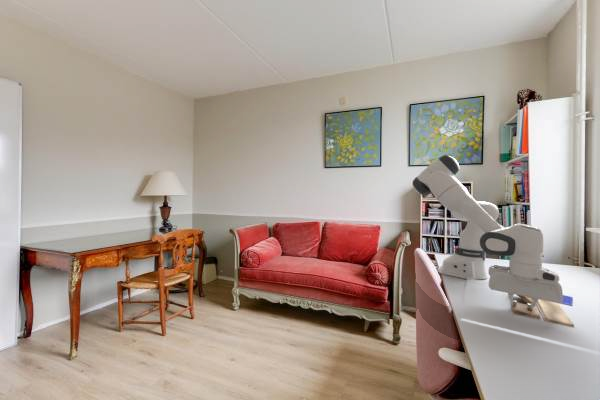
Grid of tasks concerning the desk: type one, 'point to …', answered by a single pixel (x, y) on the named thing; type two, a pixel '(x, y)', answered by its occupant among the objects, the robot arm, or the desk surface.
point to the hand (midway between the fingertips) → (521, 307)
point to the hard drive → (567, 300)
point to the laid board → (553, 312)
